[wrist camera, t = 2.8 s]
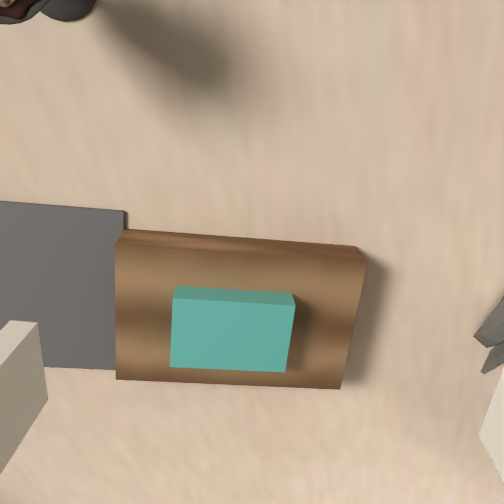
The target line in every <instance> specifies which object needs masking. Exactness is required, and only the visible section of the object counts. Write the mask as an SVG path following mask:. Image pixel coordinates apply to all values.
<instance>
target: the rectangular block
mask: <svg viewBox="0 0 504 504" xmlns="http://www.w3.org/2000/svg"><path fill="white" fill-rule="evenodd" d="M294 312H295V302H294V299H293V296H292V293H280V292H265V291H249V290H234V289H219V288H203V287H188V286H175V290H174V295H173V304H172V327H171V350H170V367H180V368H201V369H222V370H243V371H264V372H285V369H286V363H287V356H288V350H289V344H290V337H291V331H292V325H293V319H294Z"/></svg>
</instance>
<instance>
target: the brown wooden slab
mask: <svg viewBox="0 0 504 504" xmlns="http://www.w3.org/2000/svg"><path fill="white" fill-rule="evenodd" d="M366 268H367V262H366V260H365V259H364V258H363V256H362V255H361V253H360V252H359V251H358V249H357V248H356V247H355V246H346V245H333V244H319V243H306V242H293V241H280V240H267V239H254V238H240V237H227V236H214V235H201V234H188V233H175V232H161V231H148V230H135V229H124V230H123V231H122V233H121V235H120V236H119V238H118V240H117V242H116V243H115V338H116V380H138V381H160V382H183V383H205V384H228V385H250V386H273V387H295V388H317V389H340V387H341V383H342V378H343V374H344V369H345V364H346V360H347V355H348V351H349V346H350V341H351V337H352V332H353V328H354V323H355V319H356V314H357V309H358V305H359V300H360V296H361V291H362V286H363V282H364V277H365V273H366ZM175 286H188V287H203V288H219V289H234V290H249V291H265V292H280V293H292V296H293V299H294V302H295V312H294V319H293V325H292V331H291V337H290V344H289V350H288V356H287V363H286V369H285V372H264V371H243V370H222V369H201V368H180V367H170V350H171V327H172V304H173V295H174V290H175Z"/></svg>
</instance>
